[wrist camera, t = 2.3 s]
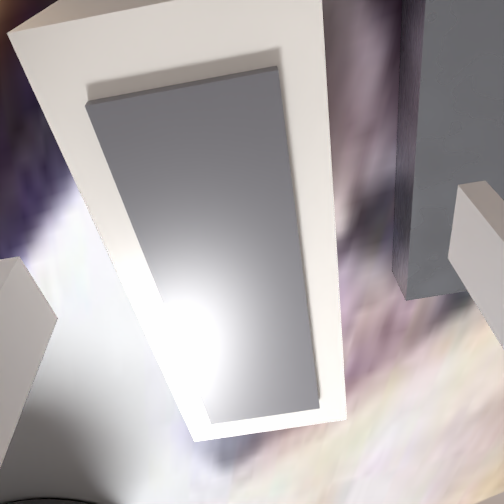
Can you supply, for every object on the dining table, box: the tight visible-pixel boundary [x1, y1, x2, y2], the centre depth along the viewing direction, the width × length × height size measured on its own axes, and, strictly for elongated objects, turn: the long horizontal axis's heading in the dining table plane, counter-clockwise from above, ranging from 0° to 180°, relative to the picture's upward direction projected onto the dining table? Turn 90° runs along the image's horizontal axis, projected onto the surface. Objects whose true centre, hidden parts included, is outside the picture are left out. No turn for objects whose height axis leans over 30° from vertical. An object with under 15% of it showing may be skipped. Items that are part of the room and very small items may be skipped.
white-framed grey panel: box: [7, 0, 347, 442], centre depth 17 cm, size 6×15×10 cm, turn 9°
